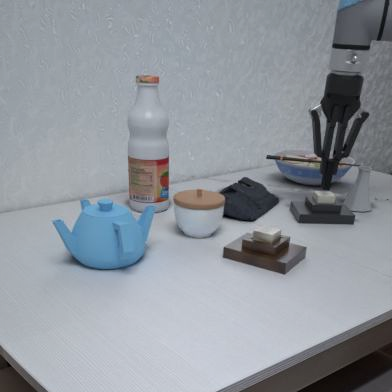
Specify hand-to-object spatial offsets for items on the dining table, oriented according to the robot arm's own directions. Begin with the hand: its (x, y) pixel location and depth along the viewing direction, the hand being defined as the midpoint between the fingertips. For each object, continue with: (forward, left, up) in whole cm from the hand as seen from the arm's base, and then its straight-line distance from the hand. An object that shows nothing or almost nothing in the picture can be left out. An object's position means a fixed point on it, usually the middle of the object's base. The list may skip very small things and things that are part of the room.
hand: (325, 188), depth 117 cm
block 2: (0, 0, -7) cm, 7 cm away
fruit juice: (+40, +10, -7) cm, 42 cm away
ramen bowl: (+6, -29, -7) cm, 30 cm away
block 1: (+8, +30, -7) cm, 32 cm away
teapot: (+36, +41, -7) cm, 55 cm away
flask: (-8, -11, -7) cm, 15 cm away
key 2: (0, 0, -3) cm, 3 cm away
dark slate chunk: (+20, 0, -7) cm, 21 cm away
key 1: (+8, +30, -3) cm, 31 cm away
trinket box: (+24, +22, -7) cm, 33 cm away
